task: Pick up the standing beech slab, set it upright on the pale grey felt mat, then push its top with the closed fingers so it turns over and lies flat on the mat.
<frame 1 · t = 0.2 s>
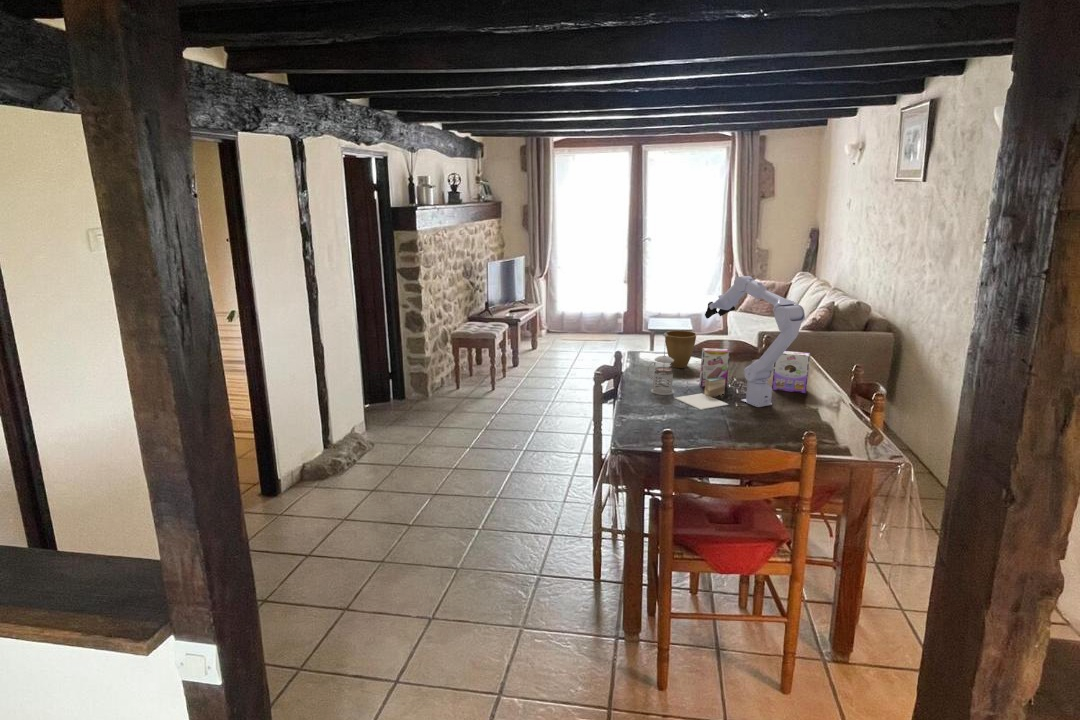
hand: (712, 315, 285), 31 cm above the table, tool tilted 45°, fingers open, 7 cm apart
plant pot: (678, 366, 323), on the table
candy bar box: (713, 386, 290), on the table
candy box: (789, 390, 286), on the table
mat: (701, 401, 269), on the table
french press: (660, 391, 283), on the table
slab: (714, 395, 278), on the table
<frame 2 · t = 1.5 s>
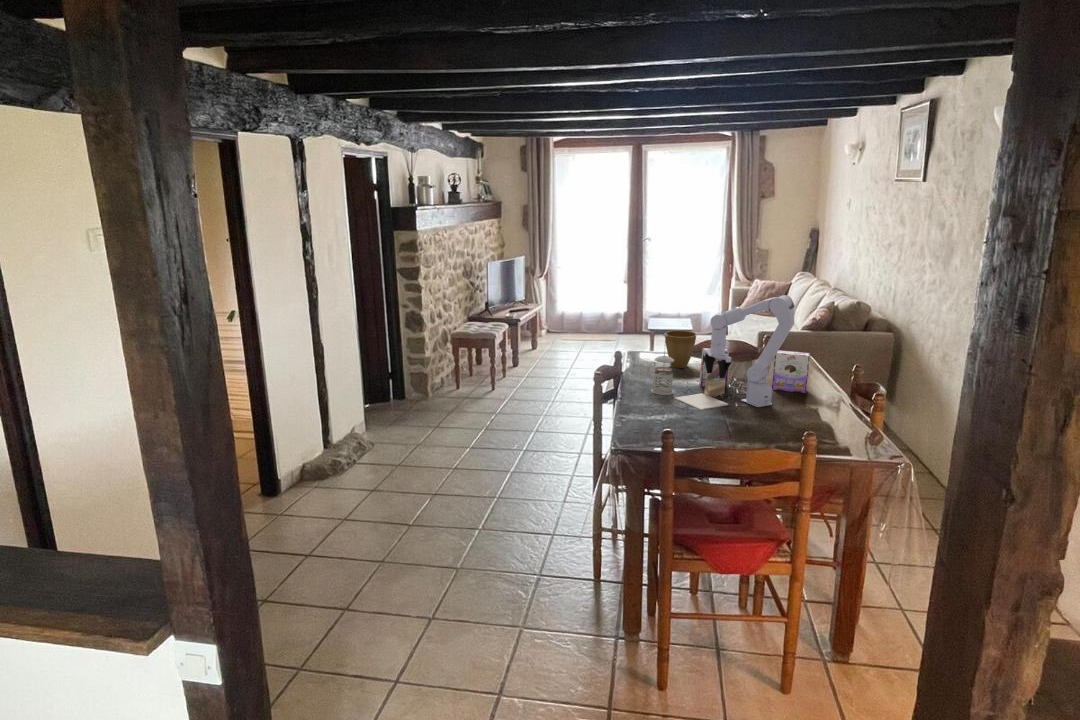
hand: (715, 375, 276), 8 cm above the table, tool pointing down, fingers open, 7 cm apart
nothing on the table moved.
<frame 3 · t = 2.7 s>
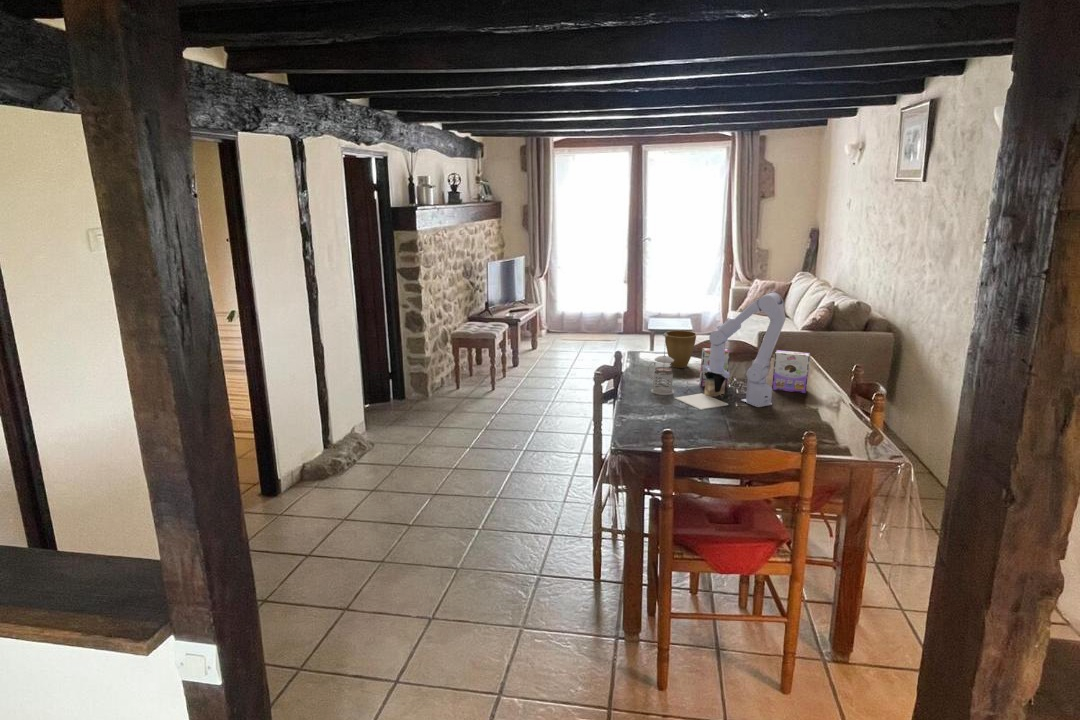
hand: (714, 390, 278), 2 cm above the table, tool pointing down, fingers closed on slab, 3 cm apart
slab: (714, 394, 278), on the table, touching gripper
everything else where it was.
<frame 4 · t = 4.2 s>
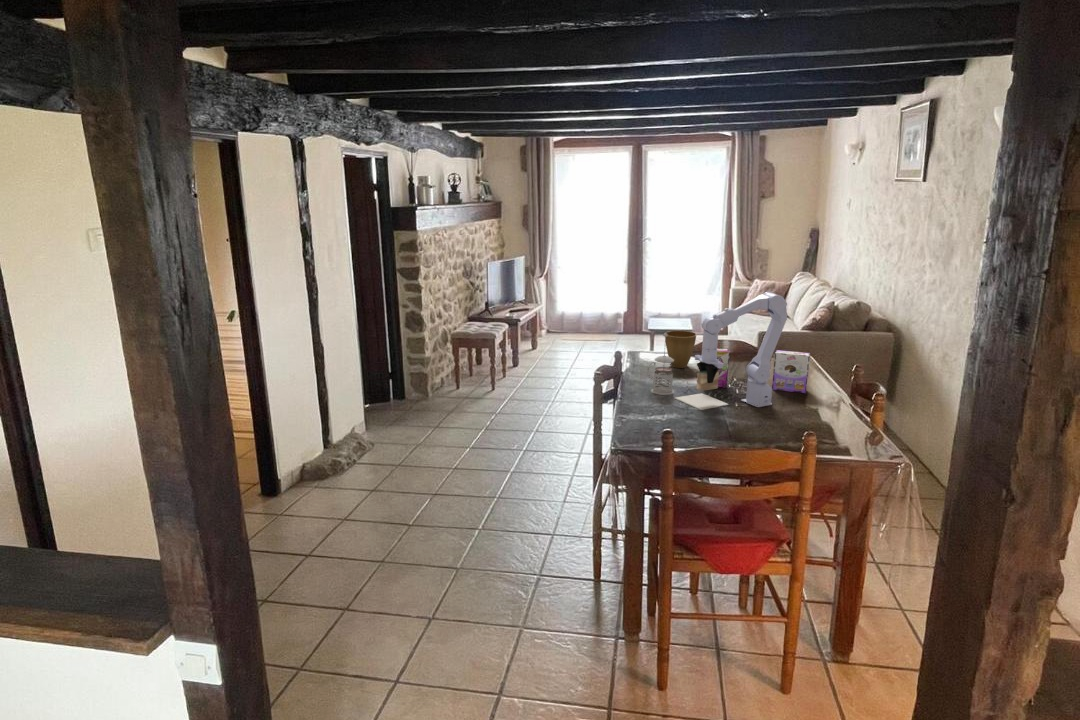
hand: (707, 381, 265), 9 cm above the table, tool pointing down, fingers closed on slab, 3 cm apart
slab: (707, 388, 266), point 6 cm above the table, touching gripper
everything else where it was.
when the fingers open (3 cm above the table, at t = 5.7 s): slab stays where it is, resting on mat.
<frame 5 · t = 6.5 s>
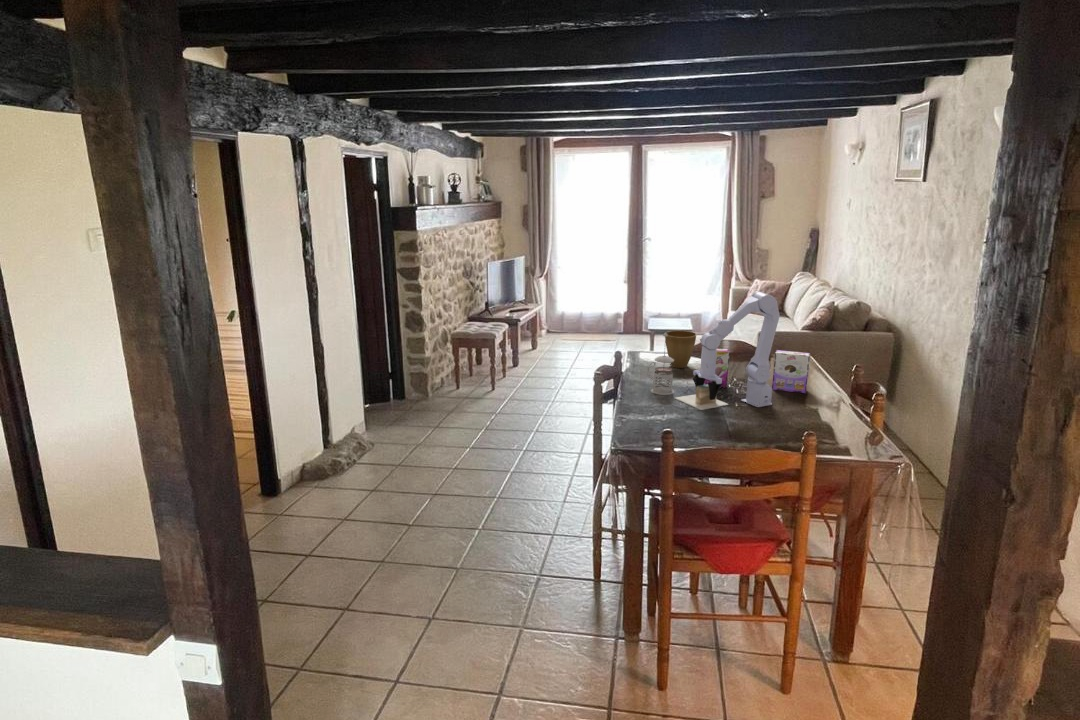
hand: (705, 396, 266), 3 cm above the table, tool pointing down, fingers open, 7 cm apart
slab: (705, 402, 267), resting on mat
everything else where it was.
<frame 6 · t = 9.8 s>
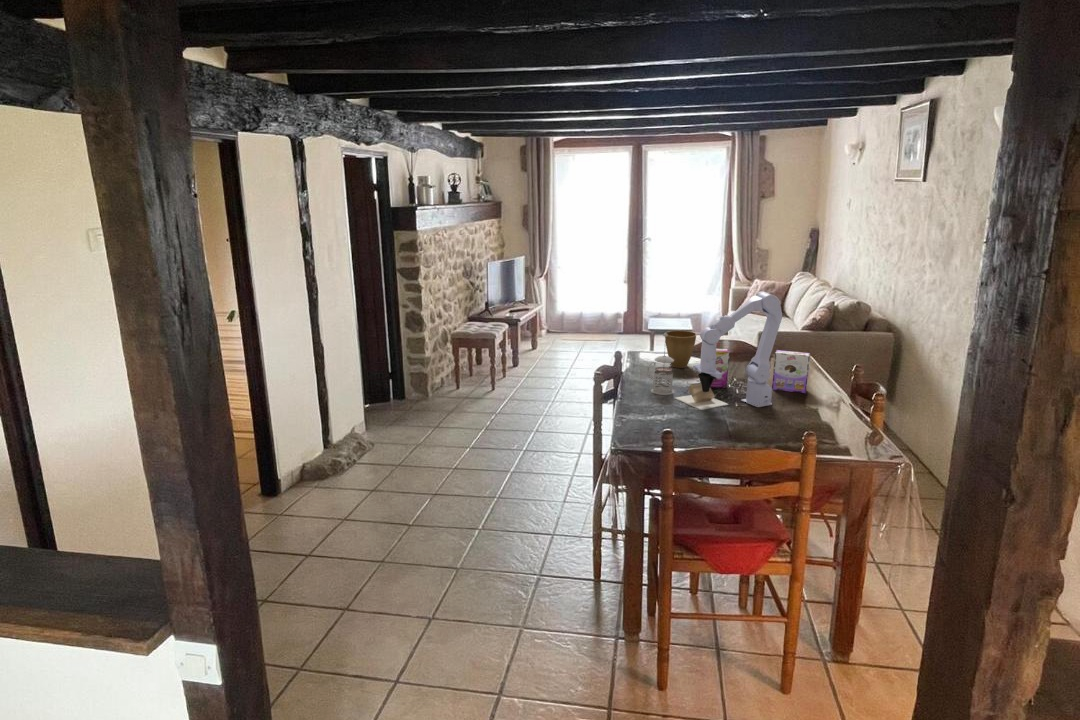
hand: (705, 391, 266), 5 cm above the table, tool pointing down, fingers closed
slab: (705, 399, 267), point 2 cm above the table, tilted 48°, touching mat
everything else where it was.
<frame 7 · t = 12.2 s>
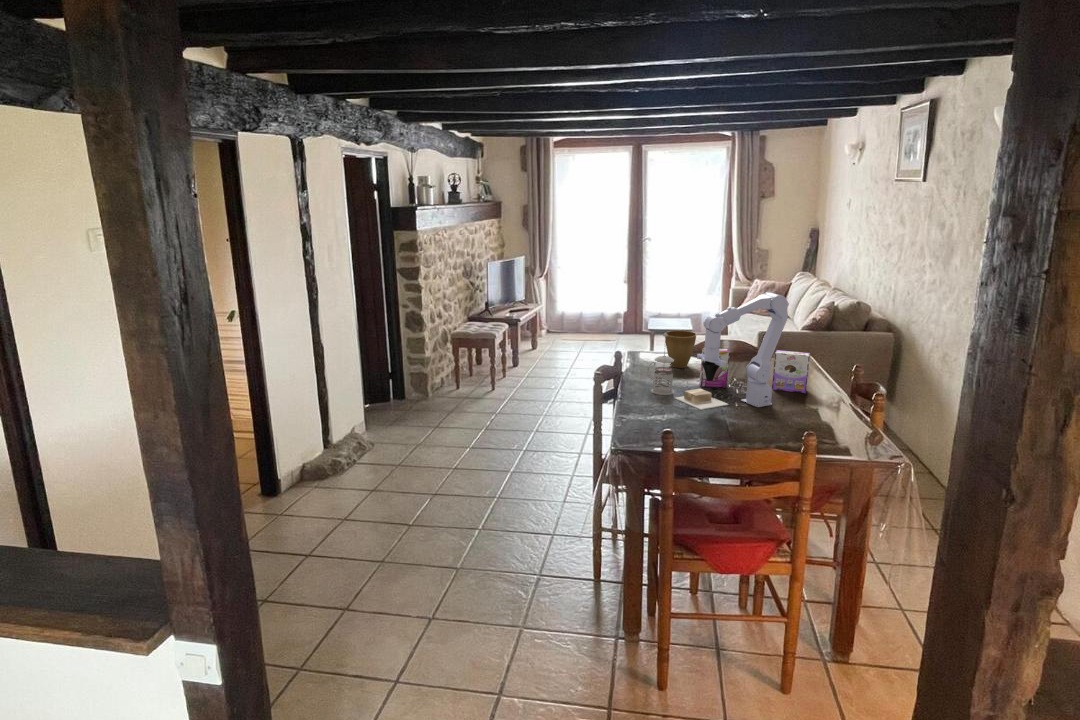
hand: (709, 380, 263), 10 cm above the table, tool pointing down, fingers closed
slab: (703, 397, 268), point 2 cm above the table, tilted 90°, touching mat
everything else where it was.
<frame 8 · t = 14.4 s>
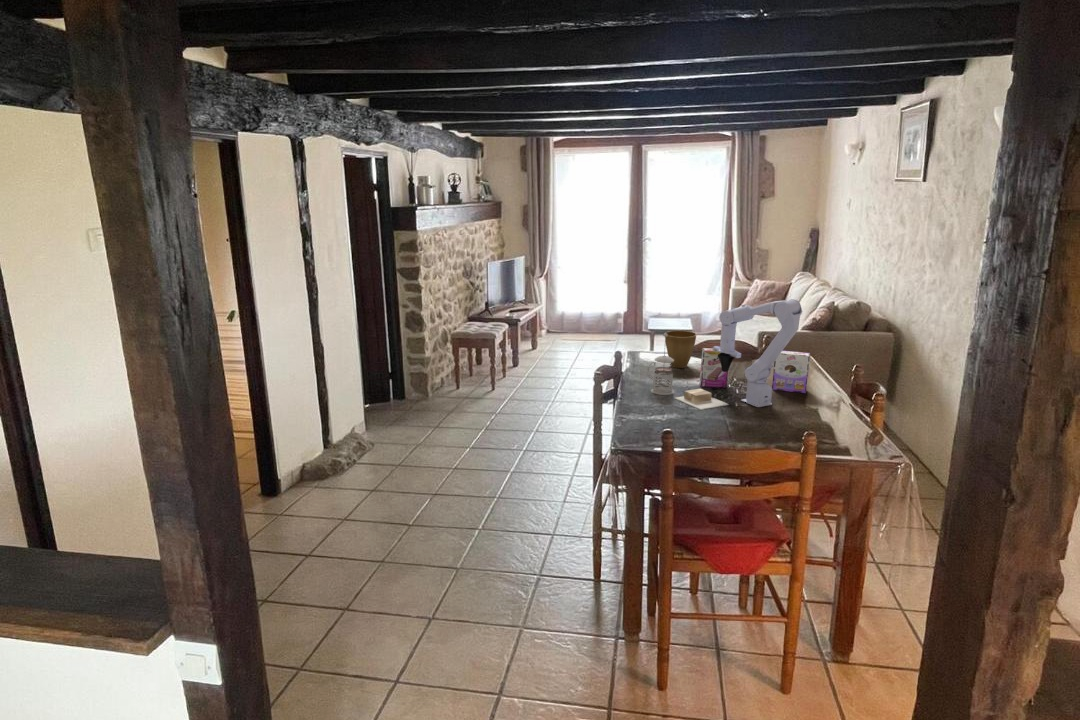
hand: (725, 371, 277), 10 cm above the table, tool pointing down, fingers closed
nothing on the table moved.
at the end: slab tilted 90°; slab inside the target area on the mat (1.0 cm from its centre), point 1.9 cm above the mat's base; slab point 1.9 cm above the table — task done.
